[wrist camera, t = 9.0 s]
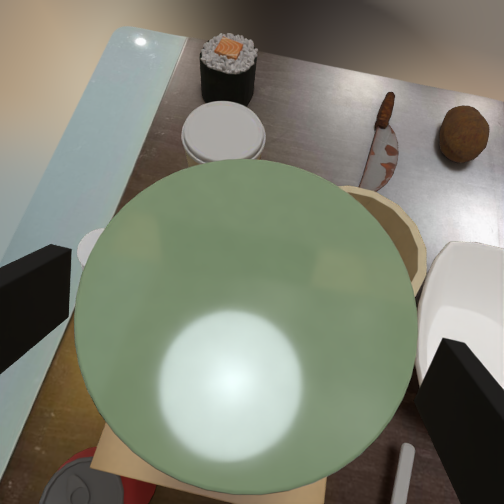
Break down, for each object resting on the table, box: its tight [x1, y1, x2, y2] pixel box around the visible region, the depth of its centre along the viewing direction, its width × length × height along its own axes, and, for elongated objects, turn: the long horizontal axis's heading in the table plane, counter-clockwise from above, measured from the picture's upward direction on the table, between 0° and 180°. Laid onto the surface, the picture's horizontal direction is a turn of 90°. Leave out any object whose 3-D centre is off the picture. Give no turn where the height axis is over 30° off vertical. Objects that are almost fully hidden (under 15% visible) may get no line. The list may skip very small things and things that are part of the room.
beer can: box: [39, 447, 156, 504], centre depth 30 cm, size 7×7×12 cm
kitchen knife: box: [359, 92, 398, 192], centre depth 56 cm, size 21×2×5 cm
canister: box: [74, 159, 418, 495], centre depth 12 cm, size 6×6×12 cm
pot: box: [339, 185, 426, 296], centre depth 38 cm, size 13×13×14 cm
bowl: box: [415, 241, 504, 389], centre depth 39 cm, size 21×21×9 cm
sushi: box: [200, 33, 258, 107], centre depth 55 cm, size 8×8×8 cm
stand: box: [90, 423, 327, 504], centre depth 28 cm, size 10×10×24 cm
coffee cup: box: [182, 101, 266, 167], centre depth 45 cm, size 9×9×12 cm
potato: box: [439, 106, 489, 163], centre depth 54 cm, size 7×10×6 cm
